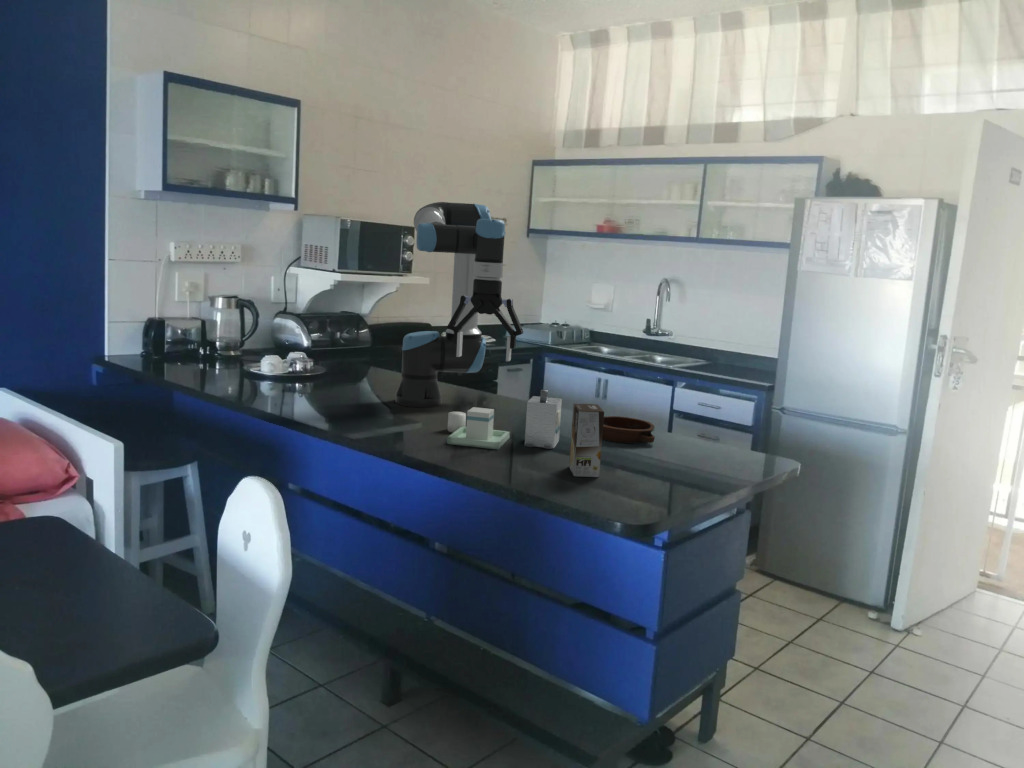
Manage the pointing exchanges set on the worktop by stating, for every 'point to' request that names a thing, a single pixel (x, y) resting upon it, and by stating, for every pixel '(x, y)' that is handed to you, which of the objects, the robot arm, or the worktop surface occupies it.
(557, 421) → the box
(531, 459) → the worktop surface
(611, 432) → the dish
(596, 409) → the coffee box
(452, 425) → the cream knob
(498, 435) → the tray
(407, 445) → the worktop surface
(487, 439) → the block
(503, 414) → the worktop surface
